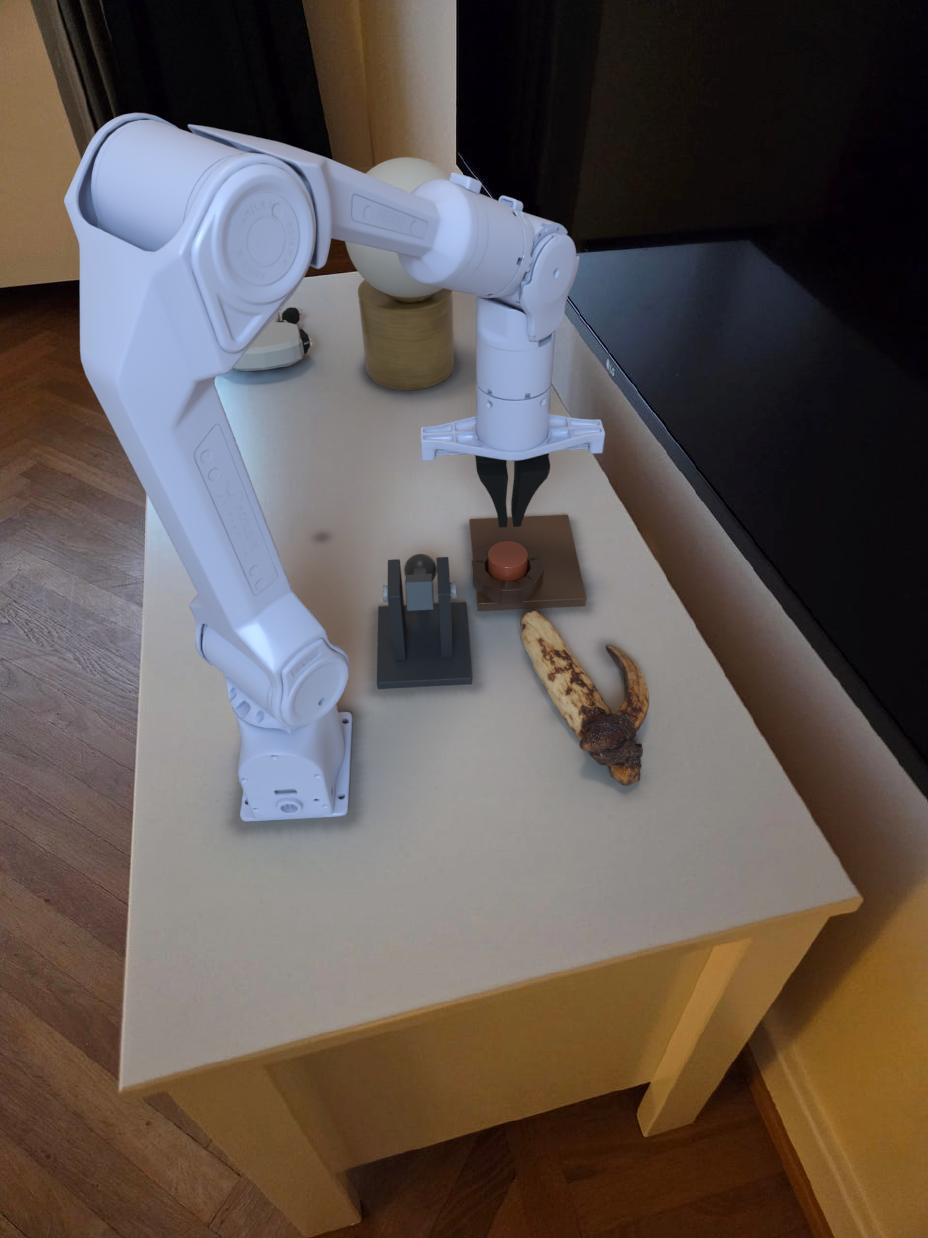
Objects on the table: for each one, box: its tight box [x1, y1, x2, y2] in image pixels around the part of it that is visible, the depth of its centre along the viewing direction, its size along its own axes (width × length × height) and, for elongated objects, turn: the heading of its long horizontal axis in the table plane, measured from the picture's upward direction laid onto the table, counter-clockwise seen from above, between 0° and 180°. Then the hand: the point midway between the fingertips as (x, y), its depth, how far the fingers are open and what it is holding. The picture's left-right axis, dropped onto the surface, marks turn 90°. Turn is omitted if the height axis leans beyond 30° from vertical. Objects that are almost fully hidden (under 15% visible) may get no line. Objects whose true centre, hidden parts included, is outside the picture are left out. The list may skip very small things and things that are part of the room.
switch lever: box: [403, 553, 437, 611], centre depth 73 cm, size 11×3×3 cm
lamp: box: [344, 156, 455, 391], centre depth 96 cm, size 15×14×25 cm
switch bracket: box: [376, 556, 473, 690], centre depth 71 cm, size 9×8×9 cm
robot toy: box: [231, 306, 314, 372], centre depth 108 cm, size 12×4×15 cm
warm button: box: [488, 541, 528, 581], centre depth 76 cm, size 4×4×2 cm
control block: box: [468, 514, 587, 612], centre depth 80 cm, size 12×10×3 cm
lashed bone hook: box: [520, 610, 650, 786], centre depth 68 cm, size 9×5×18 cm
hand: (509, 519), depth 73 cm, fingers closed
